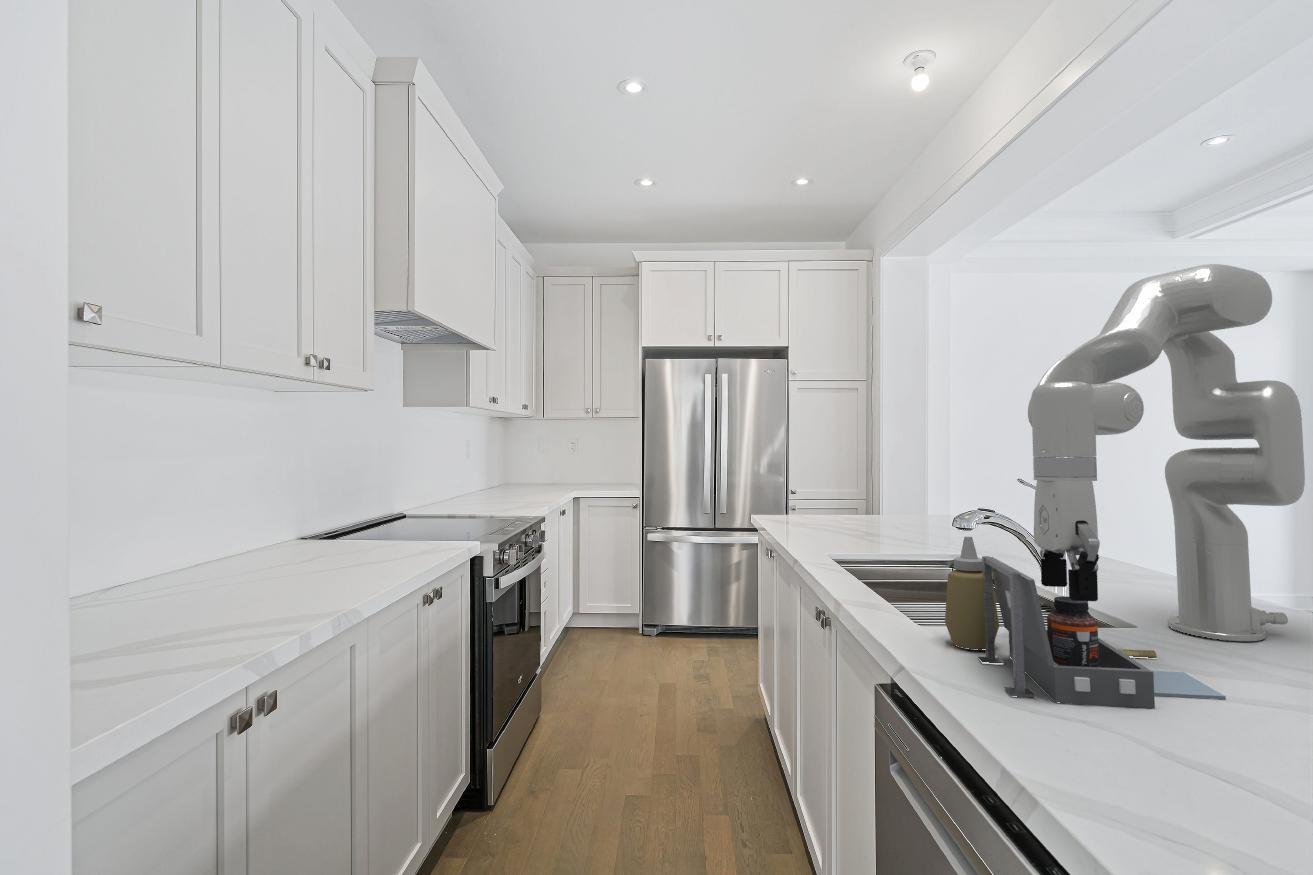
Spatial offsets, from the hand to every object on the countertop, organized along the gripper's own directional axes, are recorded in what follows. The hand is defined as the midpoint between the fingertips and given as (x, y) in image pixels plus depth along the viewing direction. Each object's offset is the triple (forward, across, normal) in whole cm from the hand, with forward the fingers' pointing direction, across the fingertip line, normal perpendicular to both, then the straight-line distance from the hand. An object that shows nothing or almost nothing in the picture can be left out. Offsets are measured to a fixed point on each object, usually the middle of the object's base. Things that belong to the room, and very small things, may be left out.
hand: (1068, 592), depth 88 cm
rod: (+11, -13, +10) cm, 20 cm away
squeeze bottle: (+12, -15, -9) cm, 21 cm away
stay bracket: (+12, -1, -8) cm, 15 cm away
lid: (+2, 0, -6) cm, 6 cm away
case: (+12, -1, +1) cm, 12 cm away
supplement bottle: (+12, -1, +1) cm, 12 cm away
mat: (+12, -1, +12) cm, 17 cm away
